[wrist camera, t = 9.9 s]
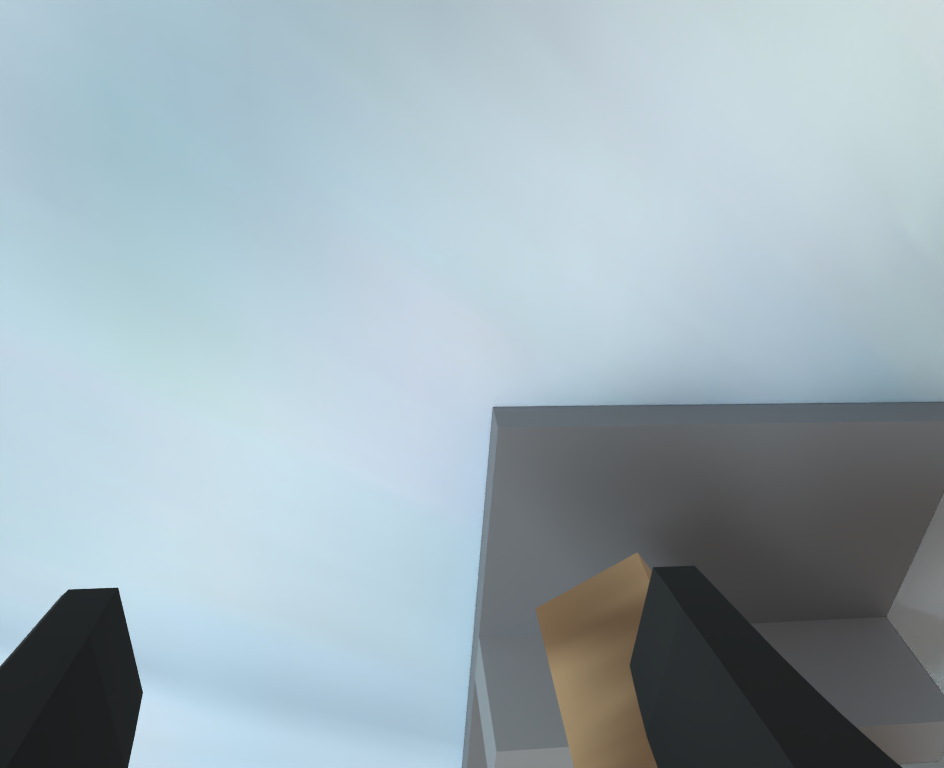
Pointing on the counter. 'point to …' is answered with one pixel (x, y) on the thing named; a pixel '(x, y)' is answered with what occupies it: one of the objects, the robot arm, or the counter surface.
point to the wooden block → (599, 665)
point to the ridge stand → (711, 548)
